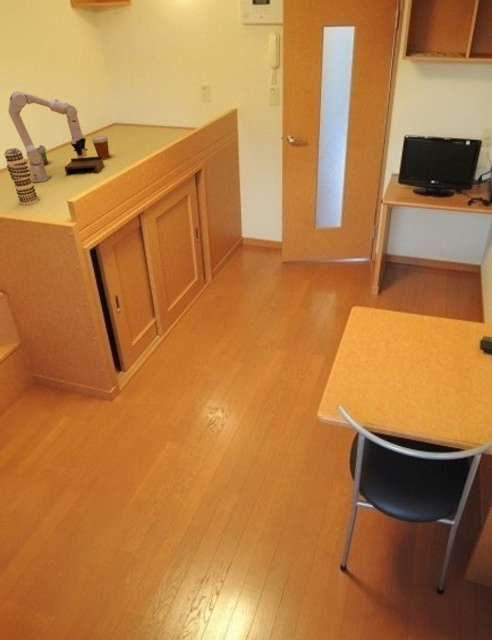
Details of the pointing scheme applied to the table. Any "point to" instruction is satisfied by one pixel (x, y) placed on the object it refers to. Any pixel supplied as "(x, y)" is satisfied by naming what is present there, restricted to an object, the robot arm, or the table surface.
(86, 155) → the pot
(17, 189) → the leaning tower model
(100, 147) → the disposable coffee cup
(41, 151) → the food container
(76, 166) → the shelf
